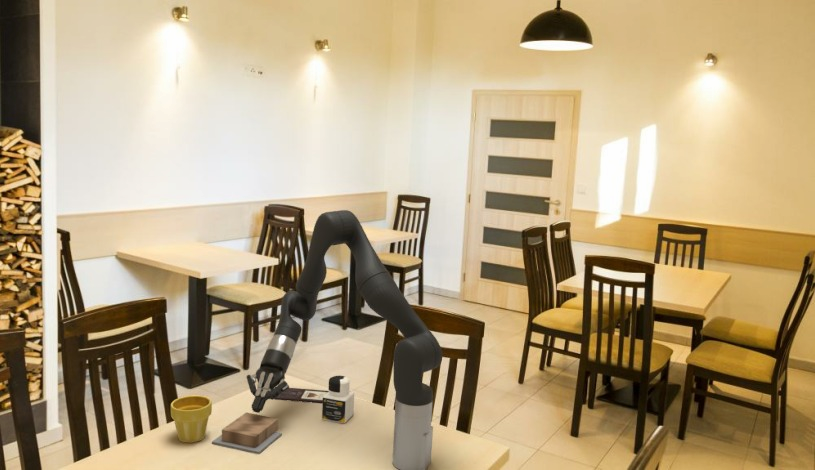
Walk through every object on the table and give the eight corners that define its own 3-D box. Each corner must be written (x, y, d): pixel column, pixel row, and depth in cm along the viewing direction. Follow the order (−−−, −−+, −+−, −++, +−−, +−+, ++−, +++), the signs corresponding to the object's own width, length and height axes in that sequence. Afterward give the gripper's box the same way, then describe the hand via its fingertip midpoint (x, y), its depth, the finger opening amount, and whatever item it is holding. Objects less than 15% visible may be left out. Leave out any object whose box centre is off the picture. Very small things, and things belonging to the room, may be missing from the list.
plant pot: (162, 437, 178) (162, 401, 177) (197, 425, 186) (197, 391, 185) (184, 450, 172) (184, 413, 170) (219, 437, 179) (219, 402, 178)
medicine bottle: (321, 419, 194) (322, 380, 192) (331, 410, 201) (332, 372, 199) (344, 424, 192) (346, 384, 190) (353, 414, 199) (355, 375, 197)
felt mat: (282, 435, 183) (282, 432, 183) (259, 454, 172) (259, 451, 171) (236, 425, 187) (236, 423, 187) (211, 443, 176) (211, 441, 176)
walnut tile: (278, 418, 184) (255, 436, 173) (278, 429, 185) (255, 448, 173) (246, 412, 187) (221, 429, 176) (245, 423, 188) (221, 440, 176)
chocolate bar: (279, 386, 215) (334, 391, 214) (279, 389, 216) (334, 394, 214) (271, 397, 207) (329, 402, 205) (271, 400, 207) (328, 405, 205)
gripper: (253, 344, 191) (228, 401, 181) (295, 351, 187) (272, 409, 177) (262, 357, 197) (239, 412, 187) (303, 364, 193) (281, 421, 183)
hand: (255, 411), depth 182 cm, fingers closed
